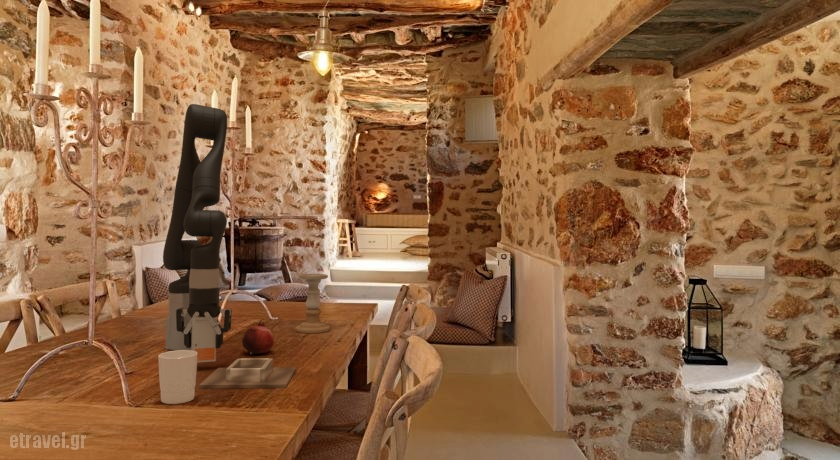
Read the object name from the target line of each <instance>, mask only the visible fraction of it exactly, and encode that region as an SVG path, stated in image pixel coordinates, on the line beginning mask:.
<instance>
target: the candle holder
mask: <svg viewBox="0 0 840 460" xmlns="http://www.w3.org/2000/svg"><path fill="white" fill-rule="evenodd" d="M298 278H299V279H301V280H305V281H306V284H307V285H308V288H307V289H306V291H305V292H306V293H307V297H306V300H305V307H306V308H307V309H305V311H304V313H305V314H306V319H305V320H306V321H304V322H300V324H298V325H297V326H296V327H295V332H297V333H301V334H323V333H327V332H329V331H331V326H330V325H329V324H326V323H325V322H323V321H320V320H321V319H320V315H321V313H322V310H321V309H320V307H321V306H322V305H321V304H322V303H321V300H320V295H319V294H320V292H321V290H320V288H319V284H320V283H321V281H322V280H325V279H328V278H329V275H328V274H325V273H305V274H298Z"/></svg>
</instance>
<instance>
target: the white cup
mask: <svg viewBox="0 0 840 460" xmlns="http://www.w3.org/2000/svg"><path fill="white" fill-rule="evenodd" d="M197 354H198V353H197V352H196V351H191V350H170V351H165V352H161V353H160V354H158V355H157V356H158V358H157V359H158V374H159V375H158V377H159V378H158V379H159V389H160V402H161V403H163V404H167V405H179V404H185V403H188V402H191V401H192V400H194V399H195V391H196V390H195V389H196V385H197V384H196V382H197V381H196V380H197V371H198V363H197Z"/></svg>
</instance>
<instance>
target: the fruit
mask: <svg viewBox="0 0 840 460" xmlns="http://www.w3.org/2000/svg"><path fill="white" fill-rule="evenodd" d="M241 339H242V340H241V343H242V347H243V348H244V349H245V350H246V351H248V352H249V354H250V356H253V355H258V354H260V355H261V354H264V355H265V354H267V353H268V352H270V350H271V349H272V348H273V346H274V343H275V337H274V335H273V332H272V330H271V329H269V328H267V326H266V324H265V321H262V319H261V320H260V321H259V323H258V324H256V325H253V326H250V327H248V328H247V329H246V330H245V332H244V334H243V337H242V338H241Z"/></svg>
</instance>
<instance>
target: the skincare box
mask: <svg viewBox="0 0 840 460" xmlns="http://www.w3.org/2000/svg"><path fill="white" fill-rule="evenodd" d="M217 318H218V316H217V317H215V318H213V319H214V320H215V322H216V323H217ZM216 334H217V333H216V331H215V329H214V328H213V327H212V326H211V324H210V322H209V321H208V319H207V318H206V317H193V323H192V328H191V351H196V352H197V353H198V354H197V364H199V363H211V362H216V361H217V348H216Z"/></svg>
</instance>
